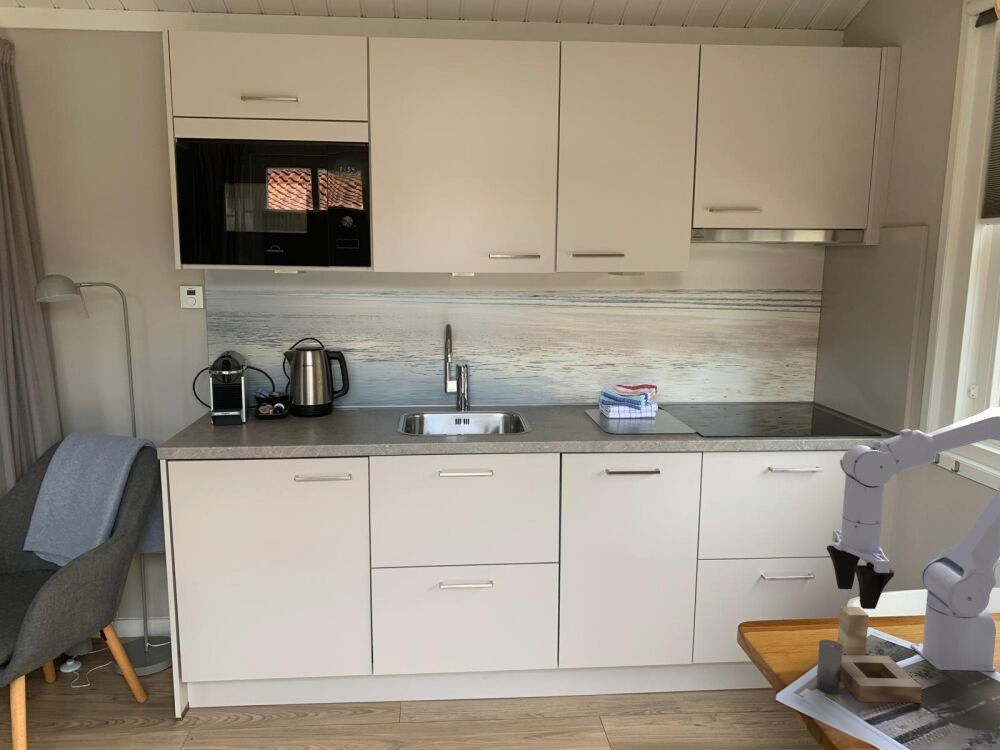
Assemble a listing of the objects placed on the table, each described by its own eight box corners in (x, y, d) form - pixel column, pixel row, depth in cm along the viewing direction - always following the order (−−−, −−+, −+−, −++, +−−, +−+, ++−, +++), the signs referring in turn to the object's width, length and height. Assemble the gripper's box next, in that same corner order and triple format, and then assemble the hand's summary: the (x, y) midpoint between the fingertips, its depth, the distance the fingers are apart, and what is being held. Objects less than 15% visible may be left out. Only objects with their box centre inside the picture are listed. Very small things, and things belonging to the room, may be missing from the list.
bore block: (886, 670, 112) (888, 655, 111) (920, 703, 103) (921, 686, 102) (830, 669, 112) (831, 654, 111) (859, 701, 103) (860, 685, 102)
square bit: (855, 645, 120) (858, 606, 119) (865, 655, 116) (868, 615, 116) (837, 645, 120) (840, 606, 119) (846, 654, 116) (849, 614, 116)
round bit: (833, 682, 108) (836, 639, 107) (843, 694, 105) (846, 650, 104) (812, 682, 108) (815, 639, 107) (821, 694, 105) (825, 649, 104)
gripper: (817, 505, 122) (812, 580, 124) (860, 533, 108) (854, 617, 109) (857, 506, 122) (852, 580, 124) (905, 533, 108) (899, 617, 109)
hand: (856, 598), depth 117 cm, fingers open, 7 cm apart
